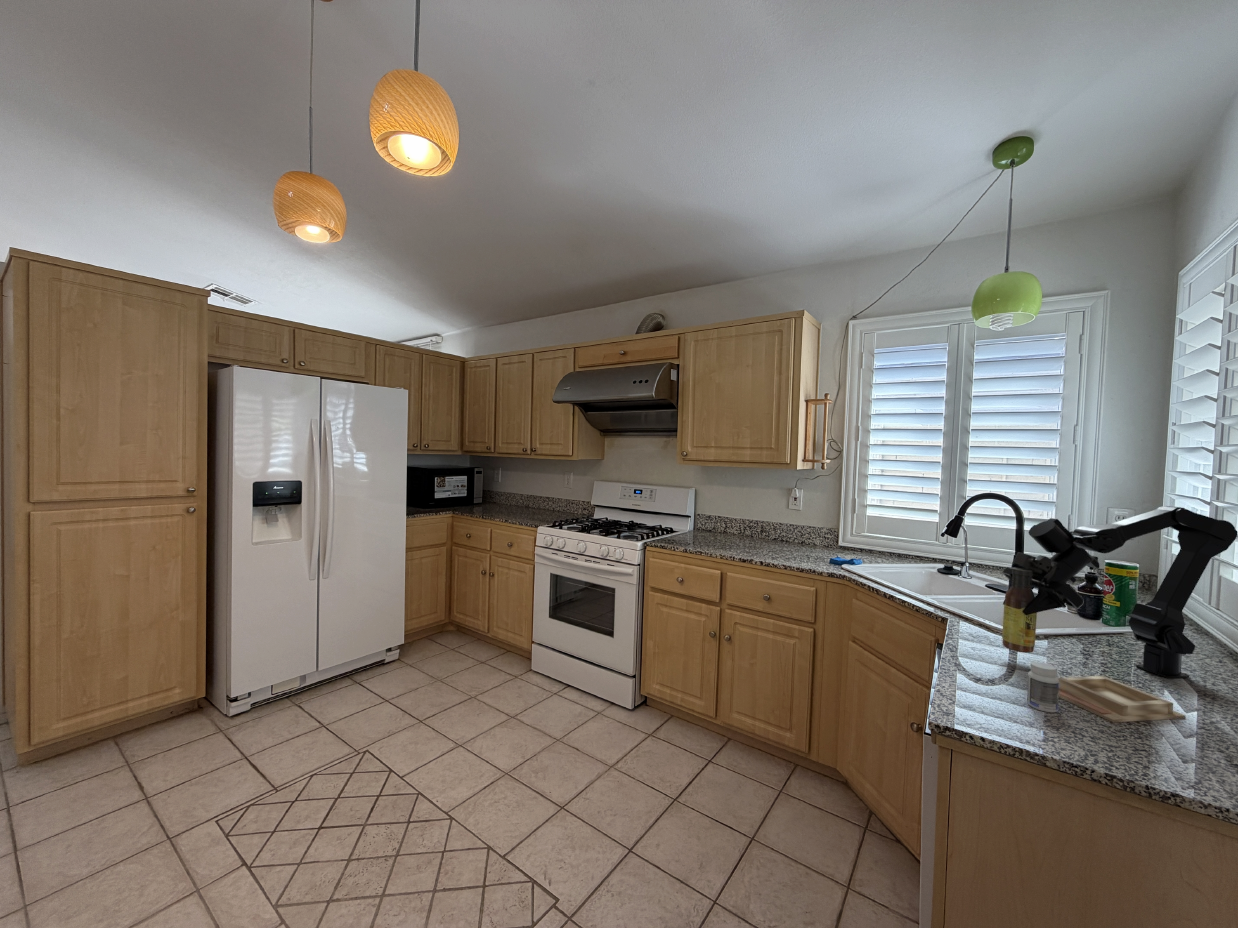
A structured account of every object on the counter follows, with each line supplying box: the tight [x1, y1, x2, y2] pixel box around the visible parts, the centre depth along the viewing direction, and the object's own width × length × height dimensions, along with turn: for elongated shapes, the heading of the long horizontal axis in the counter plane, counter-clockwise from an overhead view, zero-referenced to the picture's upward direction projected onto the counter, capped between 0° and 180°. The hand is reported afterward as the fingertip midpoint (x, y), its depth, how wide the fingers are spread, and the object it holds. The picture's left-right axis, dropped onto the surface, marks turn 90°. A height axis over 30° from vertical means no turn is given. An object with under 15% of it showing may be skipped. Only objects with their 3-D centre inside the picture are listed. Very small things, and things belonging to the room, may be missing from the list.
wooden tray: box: [1057, 675, 1186, 723], centre depth 100 cm, size 17×14×2 cm
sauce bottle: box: [1001, 566, 1038, 654], centre depth 118 cm, size 6×6×20 cm
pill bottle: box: [1026, 661, 1060, 713], centre depth 97 cm, size 5×5×8 cm
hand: (1014, 609), depth 119 cm, fingers closed on sauce bottle, 6 cm apart
